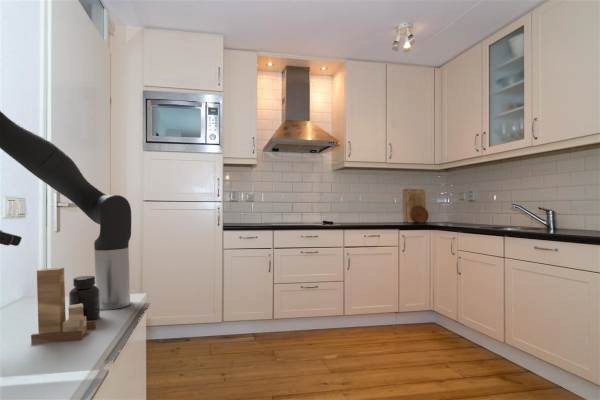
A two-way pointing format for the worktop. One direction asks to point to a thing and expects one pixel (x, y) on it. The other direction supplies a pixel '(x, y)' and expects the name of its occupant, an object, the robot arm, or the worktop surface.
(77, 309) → the small pine offcut
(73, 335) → the walnut rack
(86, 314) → the supplement bottle
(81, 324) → the pine offcut
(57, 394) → the worktop surface
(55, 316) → the oak board
